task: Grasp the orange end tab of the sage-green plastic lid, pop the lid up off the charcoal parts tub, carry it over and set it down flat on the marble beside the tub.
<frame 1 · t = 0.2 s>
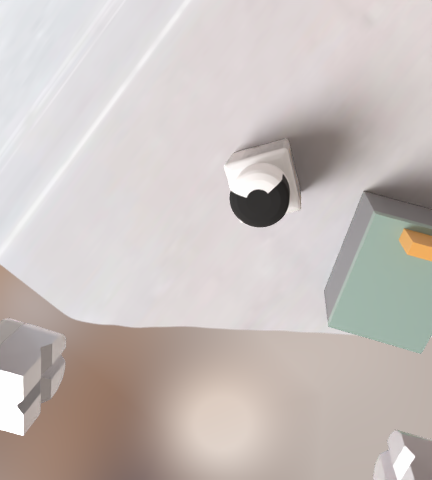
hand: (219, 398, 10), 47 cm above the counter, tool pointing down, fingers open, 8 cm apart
tub: (384, 255, 57), on the counter
lid: (397, 283, 50), point 8 cm above the counter, touching tub
container: (266, 172, 56), on the counter
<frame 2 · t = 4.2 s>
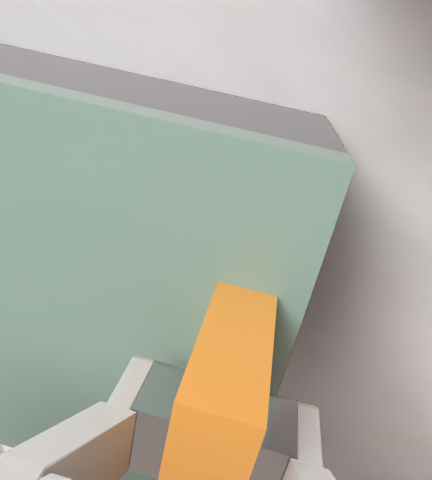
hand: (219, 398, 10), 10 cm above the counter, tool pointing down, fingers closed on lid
tub: (127, 204, 20), on the counter
lid: (30, 283, 13), point 8 cm above the counter, touching gripper, tub
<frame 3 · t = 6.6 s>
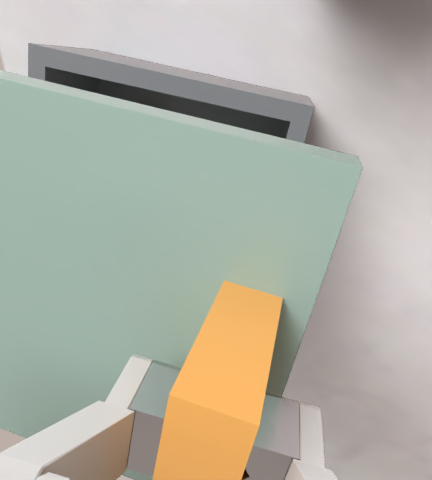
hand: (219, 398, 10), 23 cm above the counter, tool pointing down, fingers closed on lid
tub: (185, 154, 32), on the counter
lid: (46, 278, 13), point 20 cm above the counter, touching gripper
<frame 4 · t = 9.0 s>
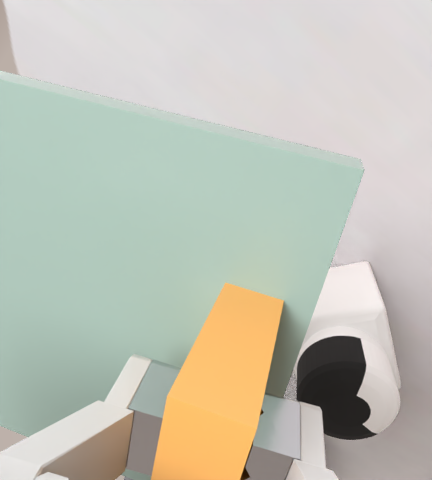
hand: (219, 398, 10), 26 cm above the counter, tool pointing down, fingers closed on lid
lid: (49, 278, 13), point 23 cm above the counter, touching gripper
container: (332, 302, 38), on the counter
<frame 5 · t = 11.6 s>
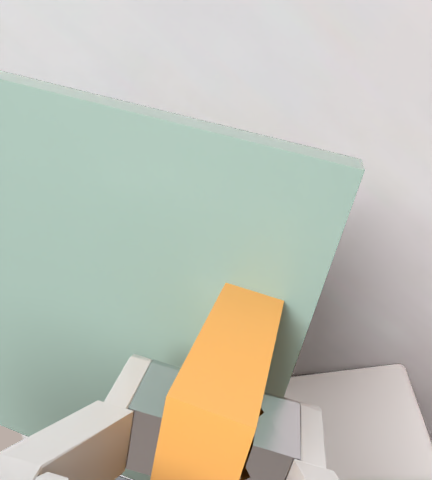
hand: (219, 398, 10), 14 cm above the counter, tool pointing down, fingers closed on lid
lid: (50, 278, 13), point 11 cm above the counter, touching gripper
container: (349, 413, 27), on the counter
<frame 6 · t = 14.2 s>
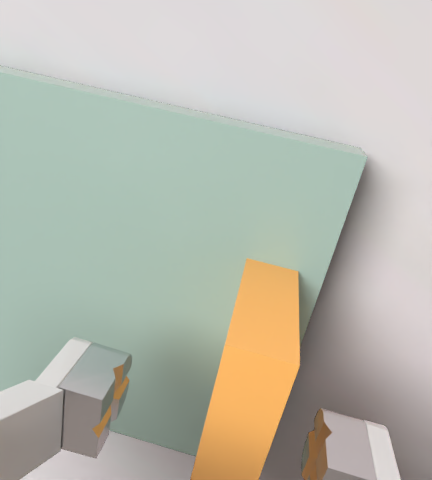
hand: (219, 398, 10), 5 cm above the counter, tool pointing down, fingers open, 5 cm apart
lid: (74, 264, 14), on the counter
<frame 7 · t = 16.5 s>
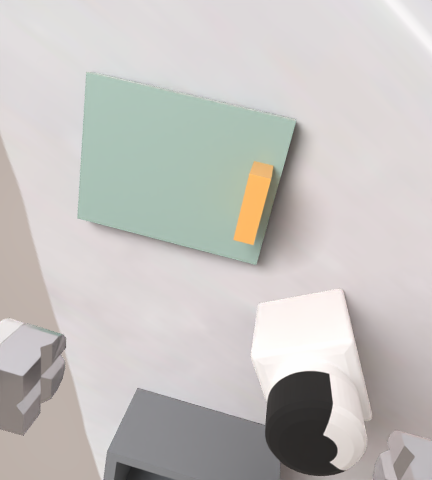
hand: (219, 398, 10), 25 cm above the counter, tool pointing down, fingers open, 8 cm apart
tub: (198, 446, 46), on the counter
lid: (180, 170, 33), on the counter
container: (308, 328, 38), on the counter
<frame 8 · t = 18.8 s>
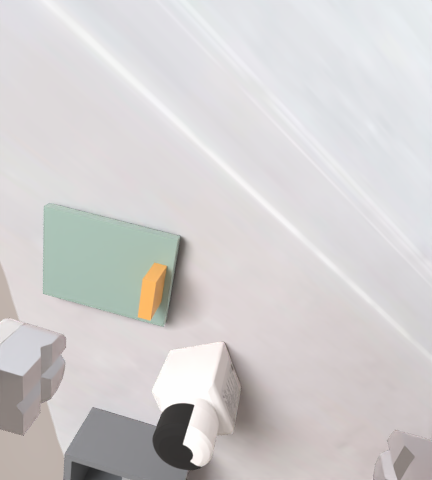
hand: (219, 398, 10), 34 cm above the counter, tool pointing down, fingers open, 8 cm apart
tub: (139, 450, 62), on the counter
lid: (110, 264, 49), on the counter
container: (206, 367, 54), on the counter
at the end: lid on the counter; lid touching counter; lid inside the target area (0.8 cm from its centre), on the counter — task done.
